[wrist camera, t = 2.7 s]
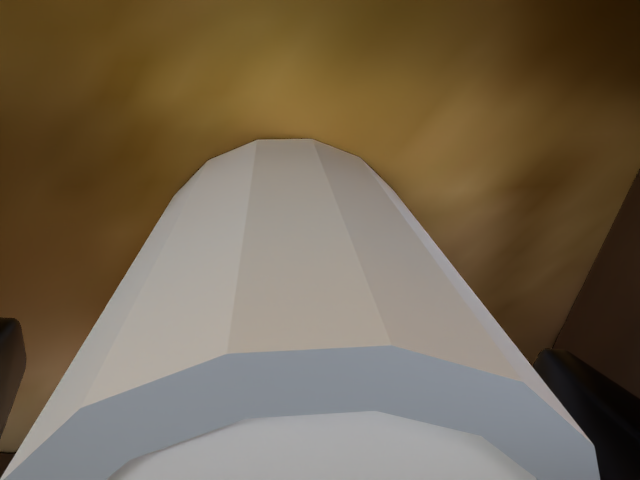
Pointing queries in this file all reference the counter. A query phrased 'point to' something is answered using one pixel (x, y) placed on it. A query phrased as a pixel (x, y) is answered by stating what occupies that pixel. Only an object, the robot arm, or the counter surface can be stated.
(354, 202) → the shot glass
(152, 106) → the counter surface
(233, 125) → the counter surface
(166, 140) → the counter surface
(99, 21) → the counter surface
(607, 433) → the robot arm
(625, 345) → the brown square frame
